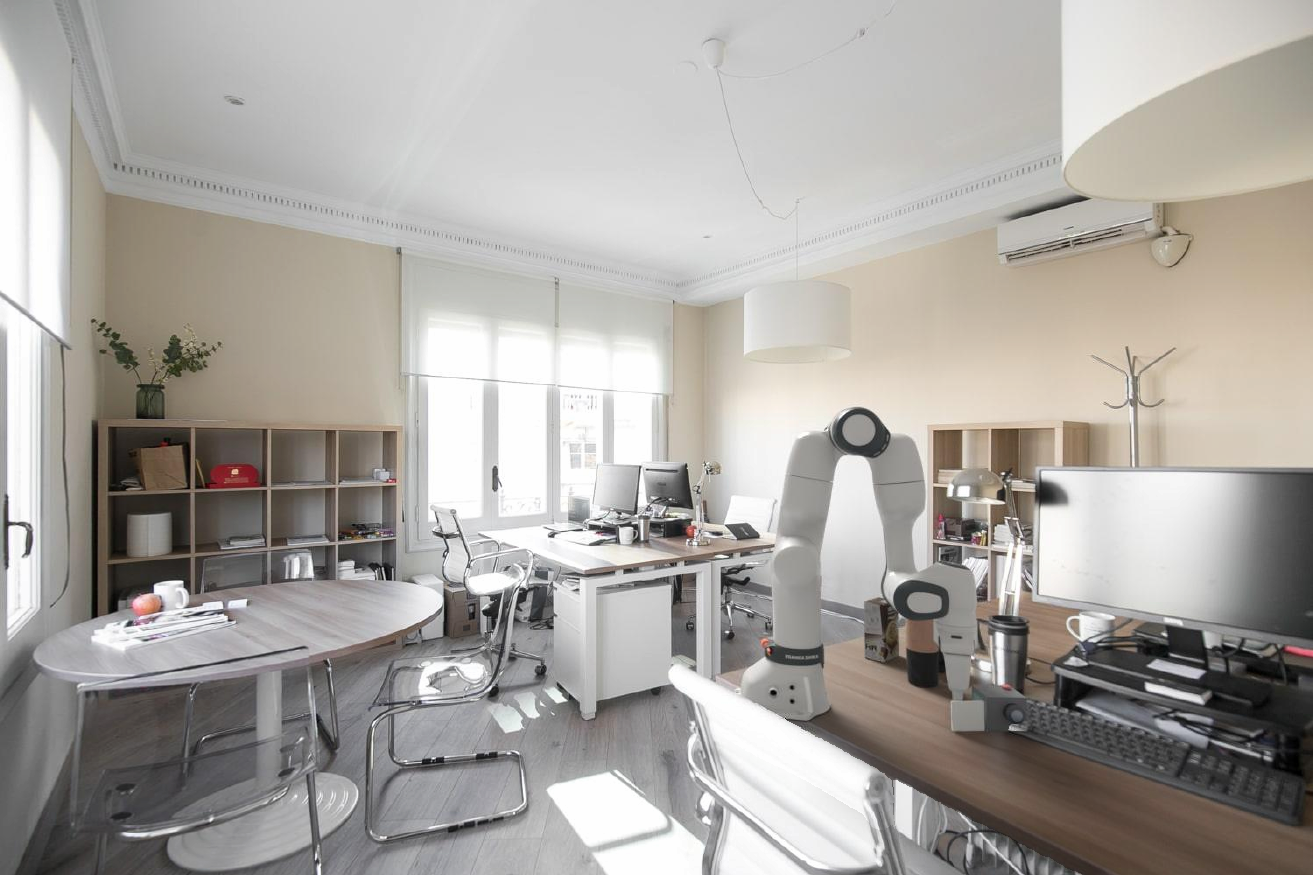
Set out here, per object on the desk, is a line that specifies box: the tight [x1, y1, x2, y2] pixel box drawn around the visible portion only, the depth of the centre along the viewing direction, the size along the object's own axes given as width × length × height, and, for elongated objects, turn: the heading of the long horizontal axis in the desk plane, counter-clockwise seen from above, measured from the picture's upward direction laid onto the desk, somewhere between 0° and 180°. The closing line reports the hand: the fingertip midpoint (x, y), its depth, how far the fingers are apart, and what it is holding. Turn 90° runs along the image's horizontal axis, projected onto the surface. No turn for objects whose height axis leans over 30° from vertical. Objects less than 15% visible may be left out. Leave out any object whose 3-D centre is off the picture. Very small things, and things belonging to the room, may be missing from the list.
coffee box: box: [863, 596, 900, 663], centre depth 174 cm, size 9×6×16 cm
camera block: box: [971, 684, 1028, 733], centre depth 128 cm, size 8×9×8 cm
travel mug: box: [905, 618, 940, 689], centre depth 154 cm, size 8×8×20 cm
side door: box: [950, 699, 988, 732], centre depth 126 cm, size 1×7×6 cm, turn 91°
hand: (956, 698), depth 134 cm, fingers open, 8 cm apart
